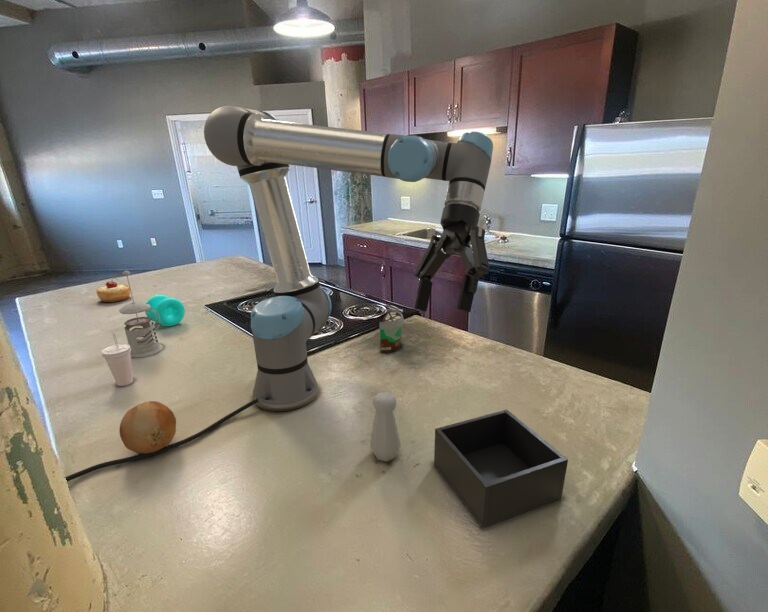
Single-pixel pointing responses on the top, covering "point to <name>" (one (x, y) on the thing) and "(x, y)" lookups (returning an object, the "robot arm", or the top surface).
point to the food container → (391, 330)
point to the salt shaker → (384, 428)
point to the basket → (498, 466)
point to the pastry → (113, 292)
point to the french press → (140, 329)
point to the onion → (147, 427)
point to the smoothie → (119, 362)
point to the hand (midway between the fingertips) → (440, 310)
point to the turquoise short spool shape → (165, 310)
